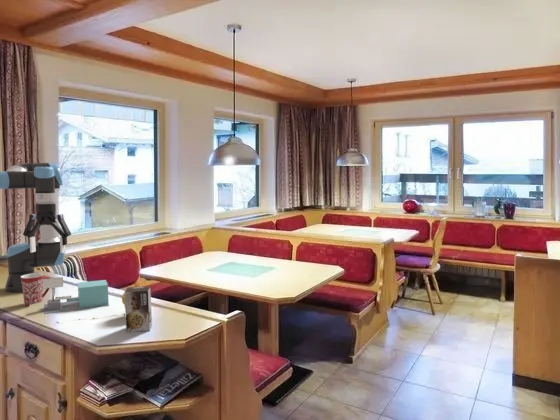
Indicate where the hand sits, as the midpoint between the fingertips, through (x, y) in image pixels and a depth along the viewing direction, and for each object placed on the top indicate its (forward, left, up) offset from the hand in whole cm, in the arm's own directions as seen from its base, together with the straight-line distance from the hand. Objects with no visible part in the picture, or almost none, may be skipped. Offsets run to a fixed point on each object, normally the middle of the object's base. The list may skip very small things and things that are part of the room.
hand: (48, 252), depth 195 cm
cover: (-2, +15, -25) cm, 29 cm away
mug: (-17, -6, -27) cm, 32 cm away
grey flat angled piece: (-2, +3, -22) cm, 22 cm away
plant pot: (+21, +32, -27) cm, 47 cm away
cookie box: (+37, +31, -27) cm, 55 cm away
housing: (-2, +10, -27) cm, 28 cm away
